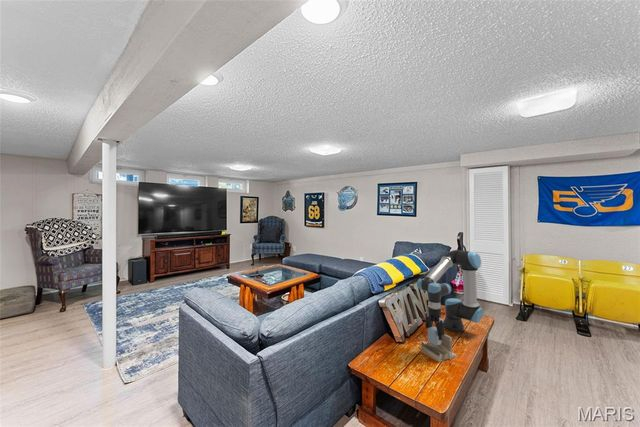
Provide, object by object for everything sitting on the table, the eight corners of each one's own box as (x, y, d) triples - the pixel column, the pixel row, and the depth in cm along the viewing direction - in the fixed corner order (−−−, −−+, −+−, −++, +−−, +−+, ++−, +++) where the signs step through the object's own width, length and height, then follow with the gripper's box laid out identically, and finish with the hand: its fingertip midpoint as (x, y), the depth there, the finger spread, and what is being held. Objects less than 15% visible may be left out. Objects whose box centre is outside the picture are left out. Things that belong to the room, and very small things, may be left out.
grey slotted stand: (436, 345, 182) (436, 325, 182) (457, 356, 168) (456, 335, 167) (420, 350, 175) (420, 330, 175) (440, 363, 161) (440, 341, 161)
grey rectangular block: (434, 339, 174) (434, 326, 174) (441, 343, 169) (441, 329, 168) (427, 341, 171) (427, 328, 171) (435, 345, 166) (435, 331, 166)
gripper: (419, 303, 176) (419, 336, 177) (442, 313, 159) (443, 350, 160) (426, 301, 180) (427, 334, 180) (451, 311, 163) (451, 347, 163)
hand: (434, 341), depth 170 cm, fingers closed on grey rectangular block, 6 cm apart
